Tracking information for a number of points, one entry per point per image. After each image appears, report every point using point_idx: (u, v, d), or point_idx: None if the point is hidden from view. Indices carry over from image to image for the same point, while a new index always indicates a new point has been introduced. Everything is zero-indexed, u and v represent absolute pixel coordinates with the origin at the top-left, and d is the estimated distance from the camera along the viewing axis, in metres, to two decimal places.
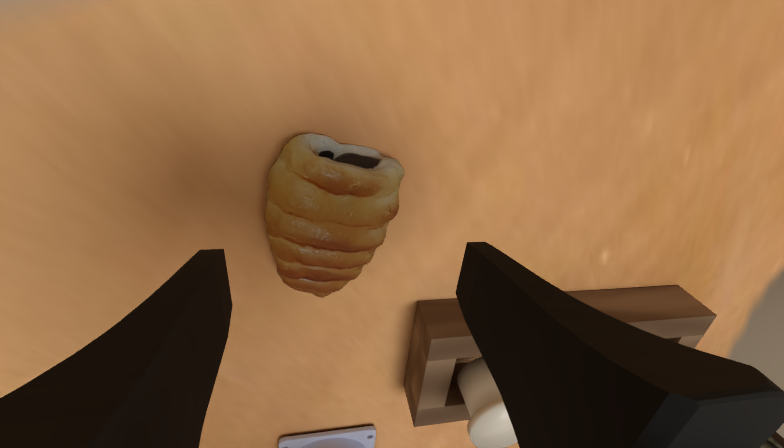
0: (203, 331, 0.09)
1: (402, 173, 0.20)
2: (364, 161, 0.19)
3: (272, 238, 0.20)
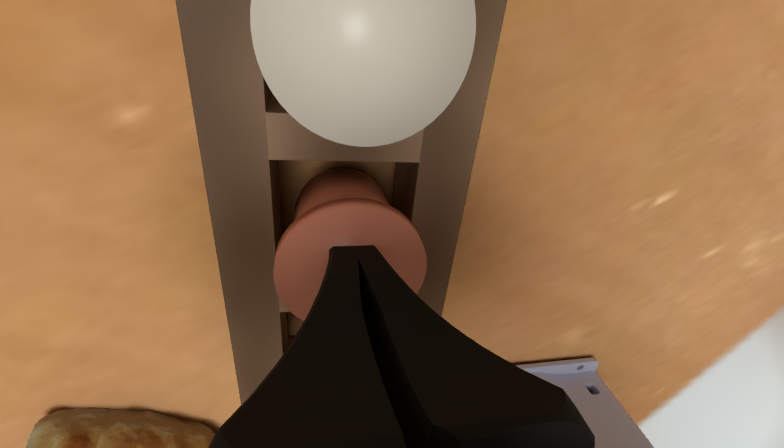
0: None
1: (40, 429, 0.19)
2: None
3: None
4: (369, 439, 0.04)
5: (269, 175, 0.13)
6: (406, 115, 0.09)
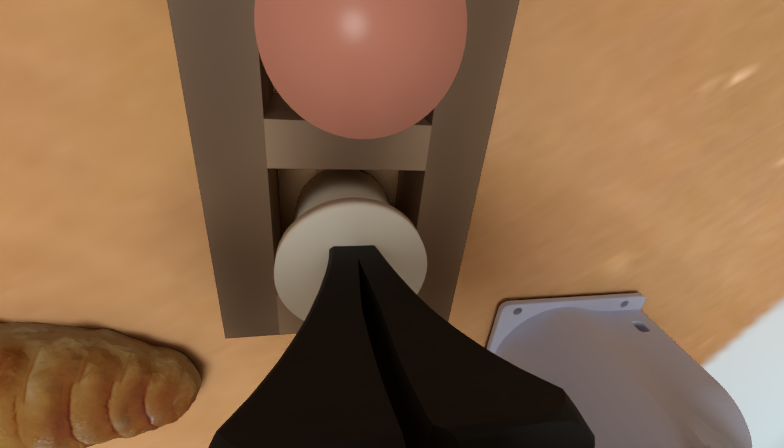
0: None
1: None
2: None
3: None
4: (369, 439, 0.04)
5: None
6: None
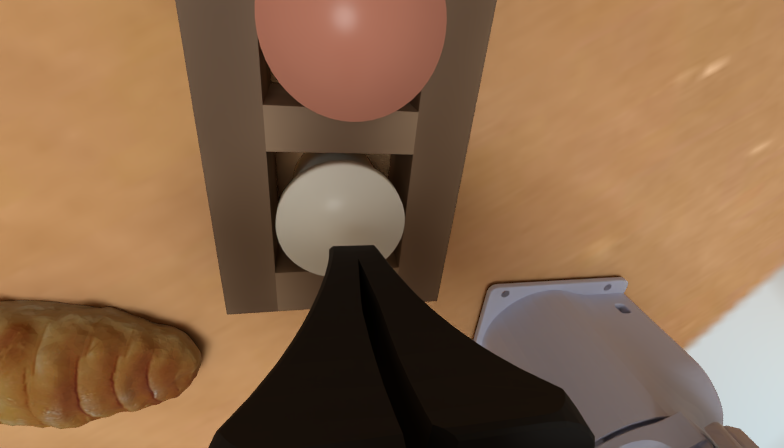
0: None
1: None
2: None
3: (111, 415, 0.19)
4: (369, 439, 0.04)
5: None
6: None
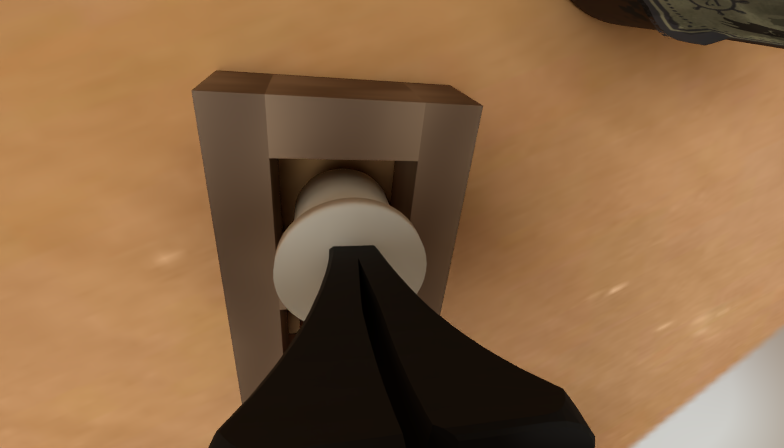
0: None
1: None
2: None
3: None
4: (369, 439, 0.04)
5: (280, 319, 0.16)
6: None
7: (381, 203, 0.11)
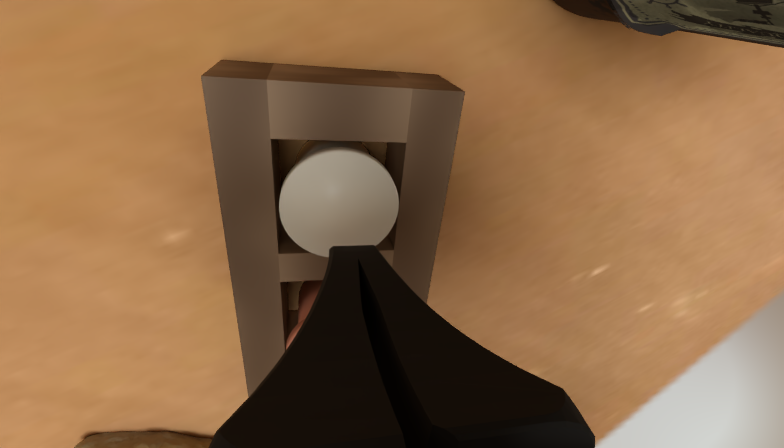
0: None
1: None
2: None
3: None
4: (369, 439, 0.04)
5: (280, 291, 0.17)
6: (363, 241, 0.16)
7: (362, 152, 0.14)
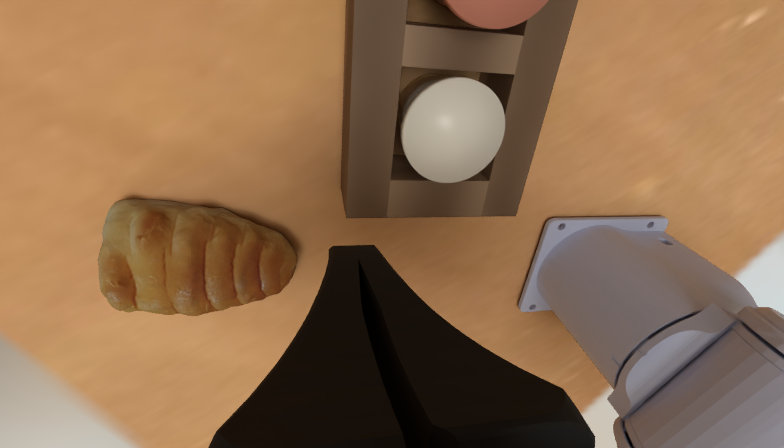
0: None
1: (116, 207, 0.18)
2: None
3: (222, 309, 0.22)
4: (369, 439, 0.04)
5: None
6: None
7: None
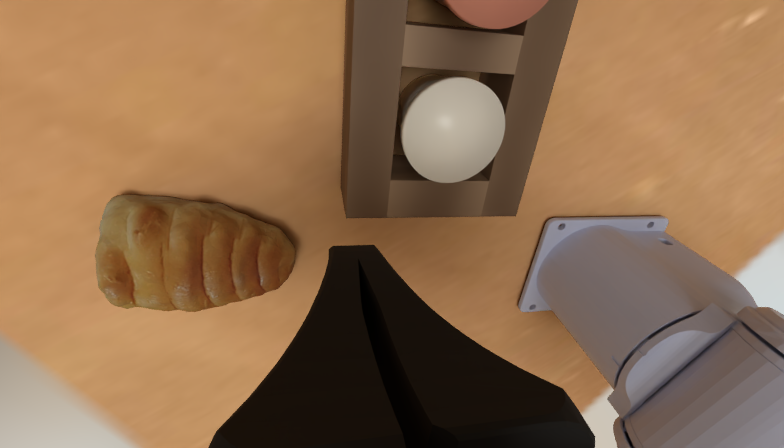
0: None
1: (113, 202, 0.18)
2: None
3: (221, 305, 0.22)
4: (369, 439, 0.04)
5: None
6: None
7: None
